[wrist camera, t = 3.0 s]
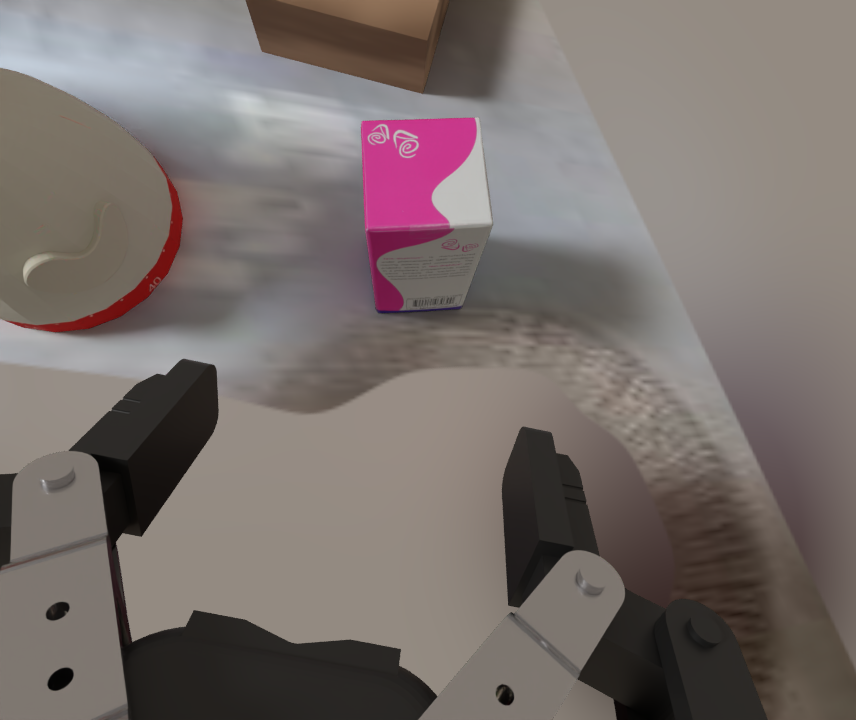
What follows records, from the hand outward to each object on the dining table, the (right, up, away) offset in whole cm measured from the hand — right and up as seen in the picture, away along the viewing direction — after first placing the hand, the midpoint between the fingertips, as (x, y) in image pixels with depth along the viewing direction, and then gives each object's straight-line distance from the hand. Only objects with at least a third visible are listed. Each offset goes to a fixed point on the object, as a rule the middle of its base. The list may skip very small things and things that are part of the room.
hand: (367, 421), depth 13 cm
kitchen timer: (-22, +10, +20) cm, 31 cm away
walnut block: (-3, +28, +25) cm, 38 cm away
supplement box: (+1, +8, +21) cm, 22 cm away
